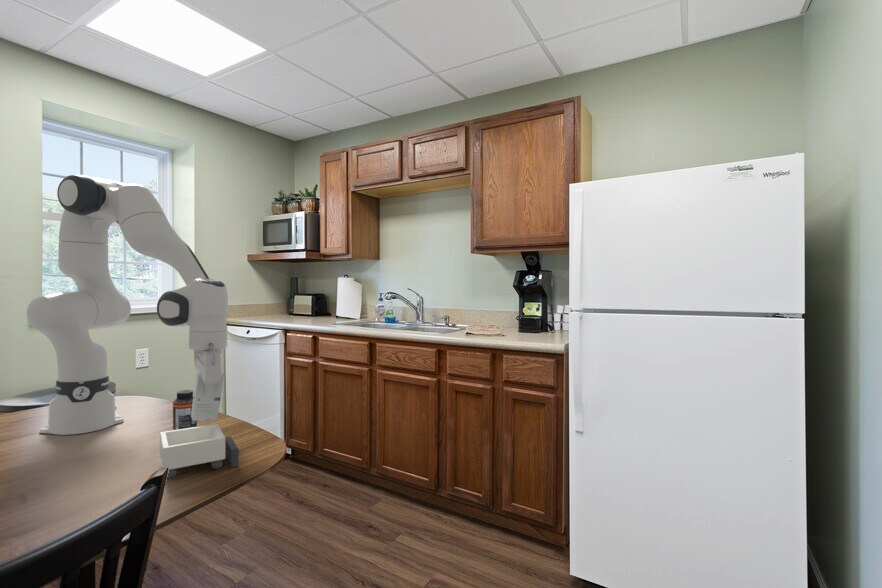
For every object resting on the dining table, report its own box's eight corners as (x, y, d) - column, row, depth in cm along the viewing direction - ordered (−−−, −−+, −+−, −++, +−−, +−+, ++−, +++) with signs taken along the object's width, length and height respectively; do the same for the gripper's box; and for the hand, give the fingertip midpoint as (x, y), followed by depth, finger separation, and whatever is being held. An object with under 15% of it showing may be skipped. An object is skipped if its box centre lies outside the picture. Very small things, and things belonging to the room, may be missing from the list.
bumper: (224, 453, 112) (224, 437, 112) (230, 452, 113) (230, 436, 112) (231, 467, 104) (231, 450, 103) (238, 465, 104) (238, 448, 104)
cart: (160, 462, 105) (160, 432, 105) (217, 452, 112) (217, 423, 112) (163, 481, 95) (163, 448, 95) (225, 469, 102) (225, 437, 102)
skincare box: (192, 421, 113) (197, 374, 113) (190, 415, 117) (195, 370, 117) (218, 419, 117) (224, 374, 117) (216, 414, 120) (221, 370, 120)
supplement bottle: (176, 427, 130) (176, 389, 130) (199, 426, 131) (199, 388, 131) (169, 434, 124) (169, 394, 124) (193, 433, 126) (193, 393, 125)
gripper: (228, 346, 109) (227, 402, 110) (215, 335, 126) (214, 384, 127) (199, 347, 106) (198, 405, 106) (190, 336, 123) (189, 386, 123)
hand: (206, 394), depth 117 cm, fingers closed on skincare box, 4 cm apart
